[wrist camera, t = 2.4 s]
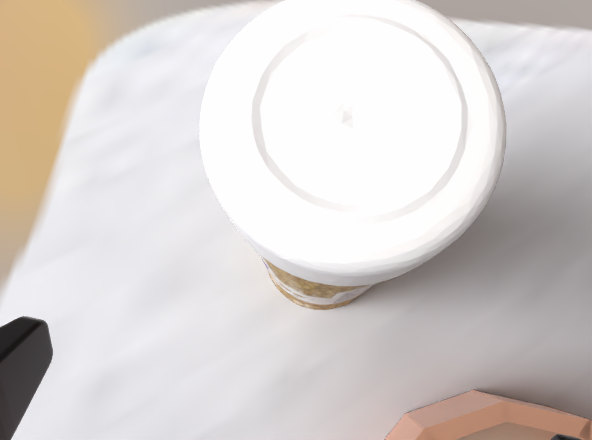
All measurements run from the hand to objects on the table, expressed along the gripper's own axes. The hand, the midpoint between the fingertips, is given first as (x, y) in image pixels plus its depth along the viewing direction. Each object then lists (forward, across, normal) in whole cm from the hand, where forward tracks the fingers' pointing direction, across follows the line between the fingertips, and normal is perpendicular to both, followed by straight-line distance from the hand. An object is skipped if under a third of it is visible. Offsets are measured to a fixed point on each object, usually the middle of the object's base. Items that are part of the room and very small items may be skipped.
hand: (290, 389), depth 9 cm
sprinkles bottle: (+11, 0, +5) cm, 12 cm away
